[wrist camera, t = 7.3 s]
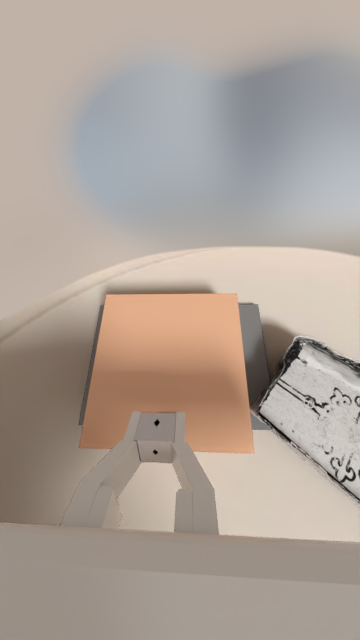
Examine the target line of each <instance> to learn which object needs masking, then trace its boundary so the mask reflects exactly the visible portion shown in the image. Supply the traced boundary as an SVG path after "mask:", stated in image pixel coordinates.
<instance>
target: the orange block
mask: <svg viewBox="0 0 360 640" xmlns="http://www.w3.org/2000/svg"><path fill="white" fill-rule="evenodd" d="M133 411H152V412H159V411H162V412H185V415H186V442H187V443H188V444H189V446H190V447H191V449H192V451H193V452H220V453H250V454H255V453H254V444H253V435H252V426H251V417H250V407H249V398H248V389H247V380H246V371H245V362H244V353H243V344H242V334H241V325H240V316H239V307H238V298H237V293H232V294H118V295H106V299H105V305H104V310H103V316H102V322H101V327H100V333H99V338H98V344H97V350H96V355H95V361H94V366H93V372H92V378H91V383H90V389H89V394H88V400H87V405H86V411H85V417H84V422H83V428H82V433H81V439H80V445H79V448H100V449H113V447H114V446H115V445H116V444H117V443H118V442H119V441H120V440H123V439H124V436H125V433H126V430H127V427H128V423H129V420H130V417H131V414H132V412H133Z"/></svg>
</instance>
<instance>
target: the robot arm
mask: <svg viewBox="0 0 360 640" xmlns="http://www.w3.org/2000/svg"><path fill="white" fill-rule="evenodd" d="M141 462H159V463H173V467H174V469H175V472H176V474H177V477H178V479H179V482H180V484H181V487H182V489H179V490H178V491H177V493H176V508H175V525H174V532H164V531H146V530H128V529H119V526H120V522H121V517H122V513H121V511H120V508H119V505H118V502H117V498H118V496H119V495H120V493H121V492H122V490H123V489H124V487H125V486H126V484H127V483H128V481H129V480H130V479H131V477H132V476H133V474H134V473H135V471H136V470H137V468H138V467H139V465H140V464H141ZM0 640H360V542H342V541H324V540H307V539H289V538H271V537H253V536H235V535H219V532H218V522H217V512H216V503H215V493H214V488H213V487H212V485H211V483H210V481H209V480H208V478H207V476H206V474H205V472H204V471H203V469H202V467H201V465H200V463H199V462H198V460H197V458H196V456H195V455H194V453H193V451H192V449H191V447H190V446H189V444H188V443H187V442H186V415H185V412H162V411H159V412H152V411H133V412H132V414H131V417H130V420H129V423H128V427H127V430H126V433H125V436H124V439H123V440H120V441H119V442H118V443H117V444H116V445H115V446H114V447H113V449H112V450H111V451H110V452H109V453H108V454H107V455H106V456H105V457H104V458H103V459H102V460H101V461H100V462H99V463H98V464H97V465H96V466H95V467H94V468H93V469H92V470H91V471H90V472H89V473H88V474H87V476H86V477H85V478H84V479H83V480H82V481H81V482H80V483H79V485H78V487H77V489H76V491H75V494H74V496H73V498H72V500H71V502H70V505H69V507H68V509H67V511H66V514H65V516H64V518H63V520H62V522H61V525H60V526H56V525H38V524H20V523H3V522H0Z"/></svg>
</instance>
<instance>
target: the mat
mask: <svg viewBox="0 0 360 640" xmlns="http://www.w3.org/2000/svg"><path fill="white" fill-rule="evenodd" d="M238 307H239V316H240V325H241V334H242V344H243V353H244V362H245V371H246V380H247V389H248V398H249V407H250V406H251V405H252V404H253V403H254V402H255V401H256V400H257V398H258V396H259V395H260V394H261V392H262V391H263V390H264V389H266V388H267V387H268V386H269V385H270V379H269V372H268V366H267V359H266V353H265V346H264V340H263V333H262V327H261V320H260V314H259V307H258V304H255V305H238ZM103 310H104V306H101V307H100V312H99V318H98V323H97V329H96V334H95V339H94V345H93V350H92V355H91V361H90V366H89V372H88V377H87V382H86V388H85V393H84V399H83V404H82V409H81V415H80V420H79V425H83V422H84V417H85V411H86V405H87V400H88V394H89V389H90V383H91V378H92V372H93V366H94V361H95V355H96V350H97V344H98V338H99V333H100V327H101V322H102V316H103ZM250 417H251V426H252V429H254V430H271V429H270V428H269V426H268V425H267V424H265V423H263V422H261V421H260V420H259V419H258V418H257V417H256V416H254V415H253V414H252V413H251V411H250Z"/></svg>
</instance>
